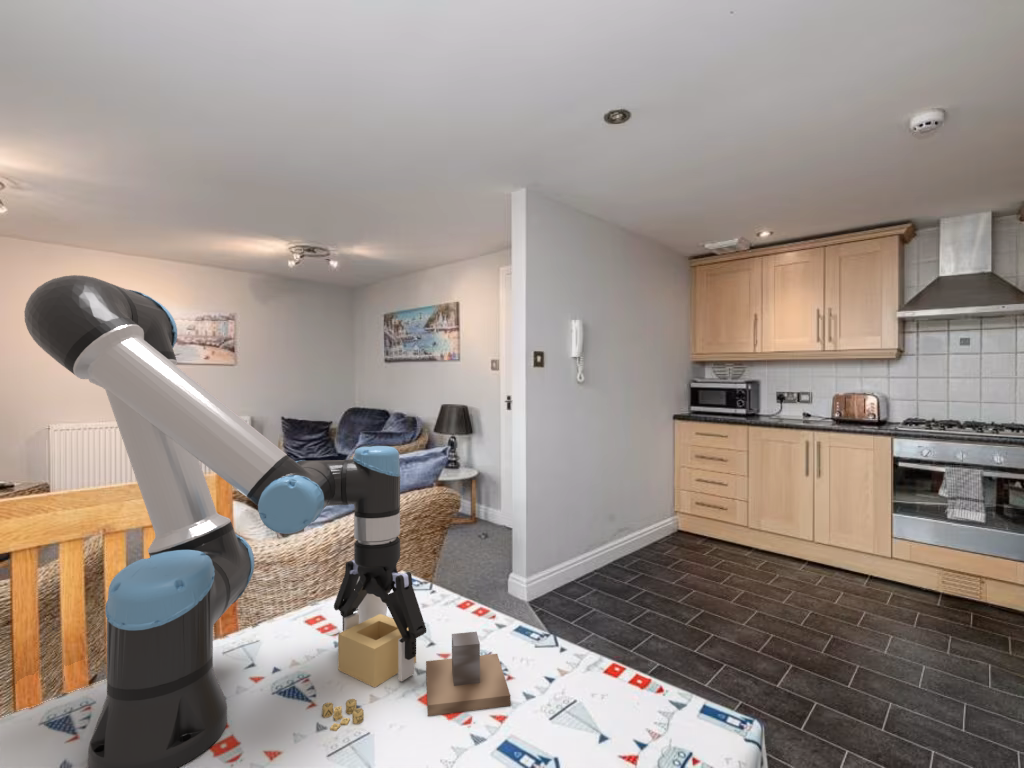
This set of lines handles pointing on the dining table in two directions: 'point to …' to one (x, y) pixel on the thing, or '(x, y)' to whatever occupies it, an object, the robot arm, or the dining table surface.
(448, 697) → the post base
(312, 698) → the dining table surface
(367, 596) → the drinking glass
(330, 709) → the dice set
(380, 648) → the collar
